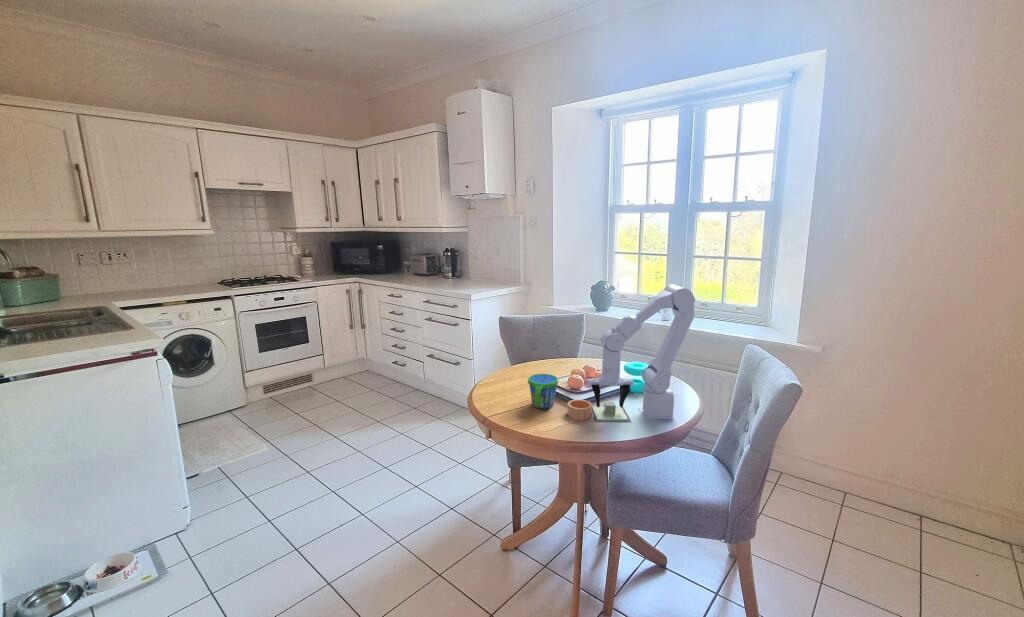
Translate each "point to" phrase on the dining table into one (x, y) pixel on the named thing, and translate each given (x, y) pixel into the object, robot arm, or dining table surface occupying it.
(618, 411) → the lid
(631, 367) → the donuts
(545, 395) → the snack cup
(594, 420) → the mat
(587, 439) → the dining table surface
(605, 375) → the robot arm
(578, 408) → the bowl
